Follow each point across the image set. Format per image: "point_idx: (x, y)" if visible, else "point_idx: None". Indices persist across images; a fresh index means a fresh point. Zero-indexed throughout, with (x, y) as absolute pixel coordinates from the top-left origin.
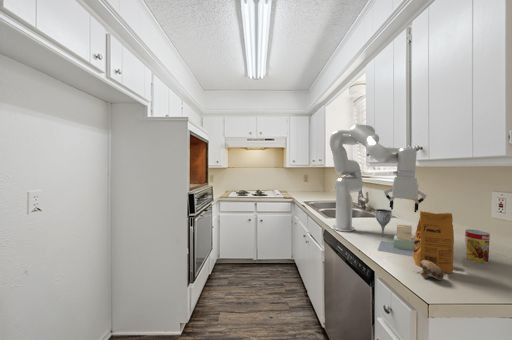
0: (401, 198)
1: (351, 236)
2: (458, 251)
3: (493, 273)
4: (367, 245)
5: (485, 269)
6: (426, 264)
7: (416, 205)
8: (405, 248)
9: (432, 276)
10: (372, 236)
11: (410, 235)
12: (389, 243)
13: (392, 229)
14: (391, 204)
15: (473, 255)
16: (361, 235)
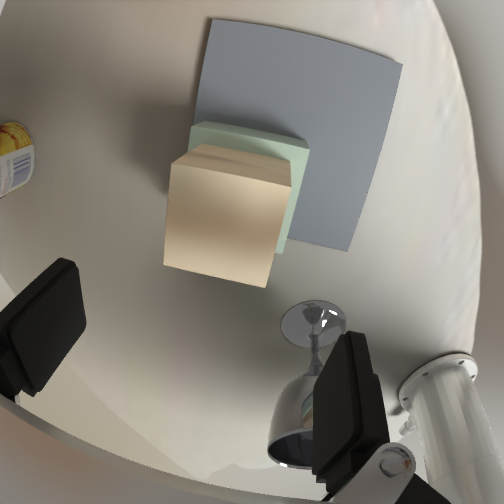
0: (183, 480)
1: (451, 302)
2: (46, 230)
3: (10, 34)
4: (425, 177)
5: (14, 58)
6: None
7: (6, 309)
8: (243, 127)
9: None
10: None
11: (197, 151)
12: (311, 215)
13: (243, 424)
14: (373, 390)
15: (6, 128)
16: (401, 331)
